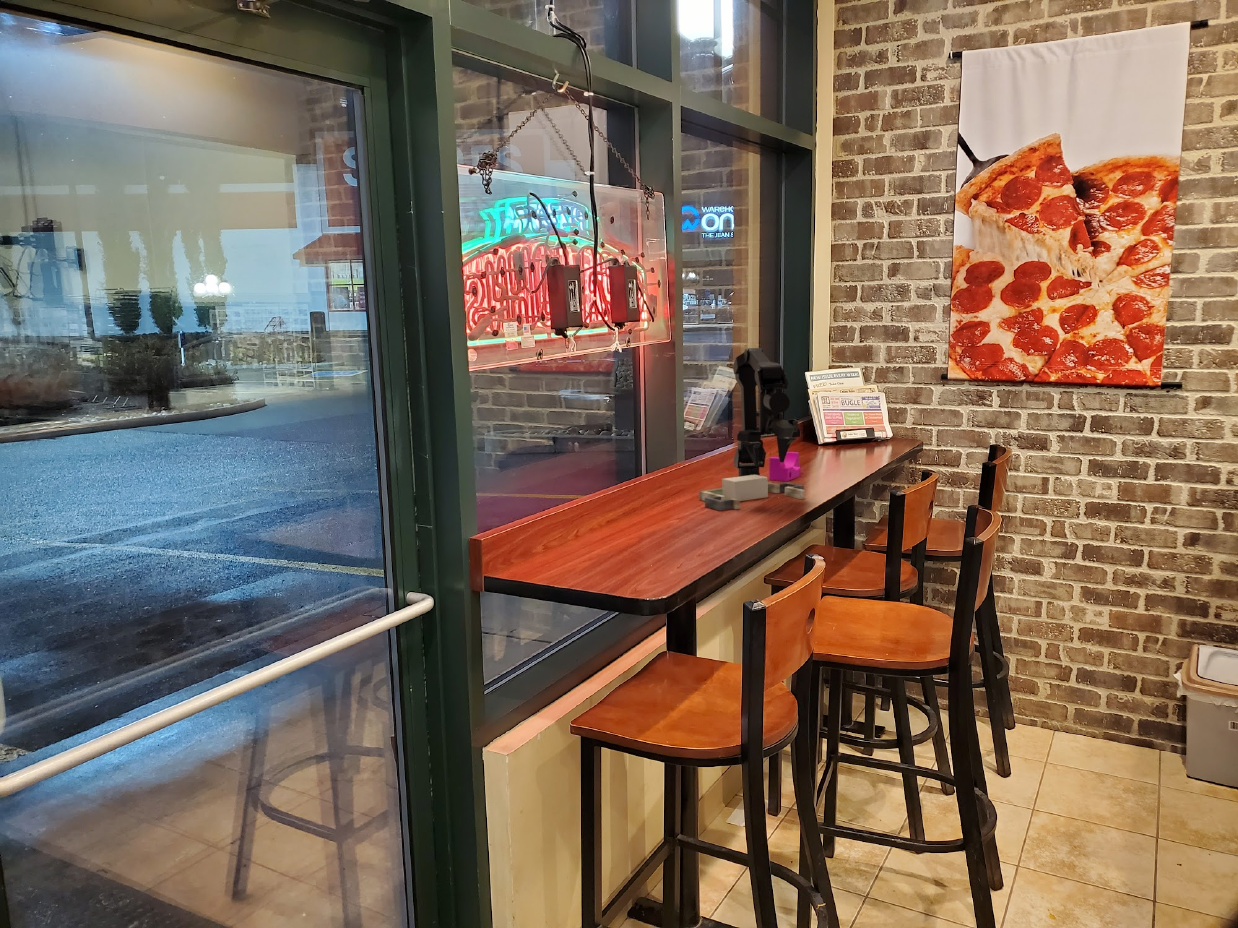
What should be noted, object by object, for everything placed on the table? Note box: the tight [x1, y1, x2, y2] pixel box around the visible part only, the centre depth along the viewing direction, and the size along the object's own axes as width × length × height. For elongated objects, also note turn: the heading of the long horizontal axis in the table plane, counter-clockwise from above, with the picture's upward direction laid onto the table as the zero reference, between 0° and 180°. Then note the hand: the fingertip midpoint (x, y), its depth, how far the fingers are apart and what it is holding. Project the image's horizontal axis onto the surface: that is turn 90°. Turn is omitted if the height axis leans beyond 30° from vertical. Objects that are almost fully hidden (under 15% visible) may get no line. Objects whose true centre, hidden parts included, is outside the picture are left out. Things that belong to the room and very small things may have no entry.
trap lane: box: [698, 481, 806, 511], centre depth 270 cm, size 17×34×2 cm, turn 121°
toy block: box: [768, 451, 802, 482], centre depth 303 cm, size 15×6×8 cm, turn 146°
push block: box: [721, 475, 769, 502], centre depth 272 cm, size 6×12×6 cm, turn 120°
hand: (769, 464), depth 265 cm, fingers open, 9 cm apart
